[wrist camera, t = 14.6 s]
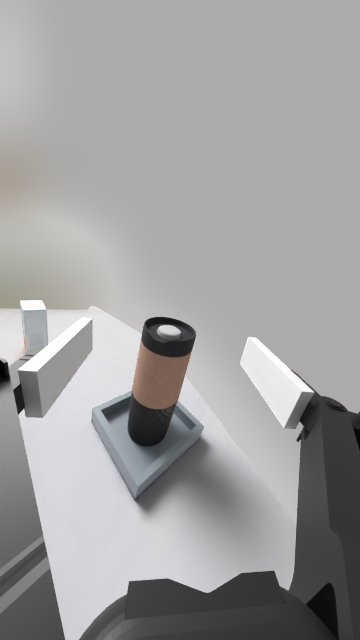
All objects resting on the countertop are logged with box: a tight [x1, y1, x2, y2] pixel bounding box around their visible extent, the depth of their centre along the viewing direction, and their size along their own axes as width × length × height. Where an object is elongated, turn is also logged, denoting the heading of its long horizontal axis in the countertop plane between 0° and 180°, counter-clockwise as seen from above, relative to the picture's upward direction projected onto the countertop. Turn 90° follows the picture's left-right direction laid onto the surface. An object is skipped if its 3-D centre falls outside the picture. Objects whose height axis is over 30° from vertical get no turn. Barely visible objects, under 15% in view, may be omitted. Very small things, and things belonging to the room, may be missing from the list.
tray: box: [91, 391, 204, 500], centre depth 32 cm, size 14×14×3 cm
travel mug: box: [128, 317, 196, 447], centre depth 29 cm, size 8×8×20 cm
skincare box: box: [20, 301, 48, 353], centre depth 44 cm, size 6×4×12 cm
